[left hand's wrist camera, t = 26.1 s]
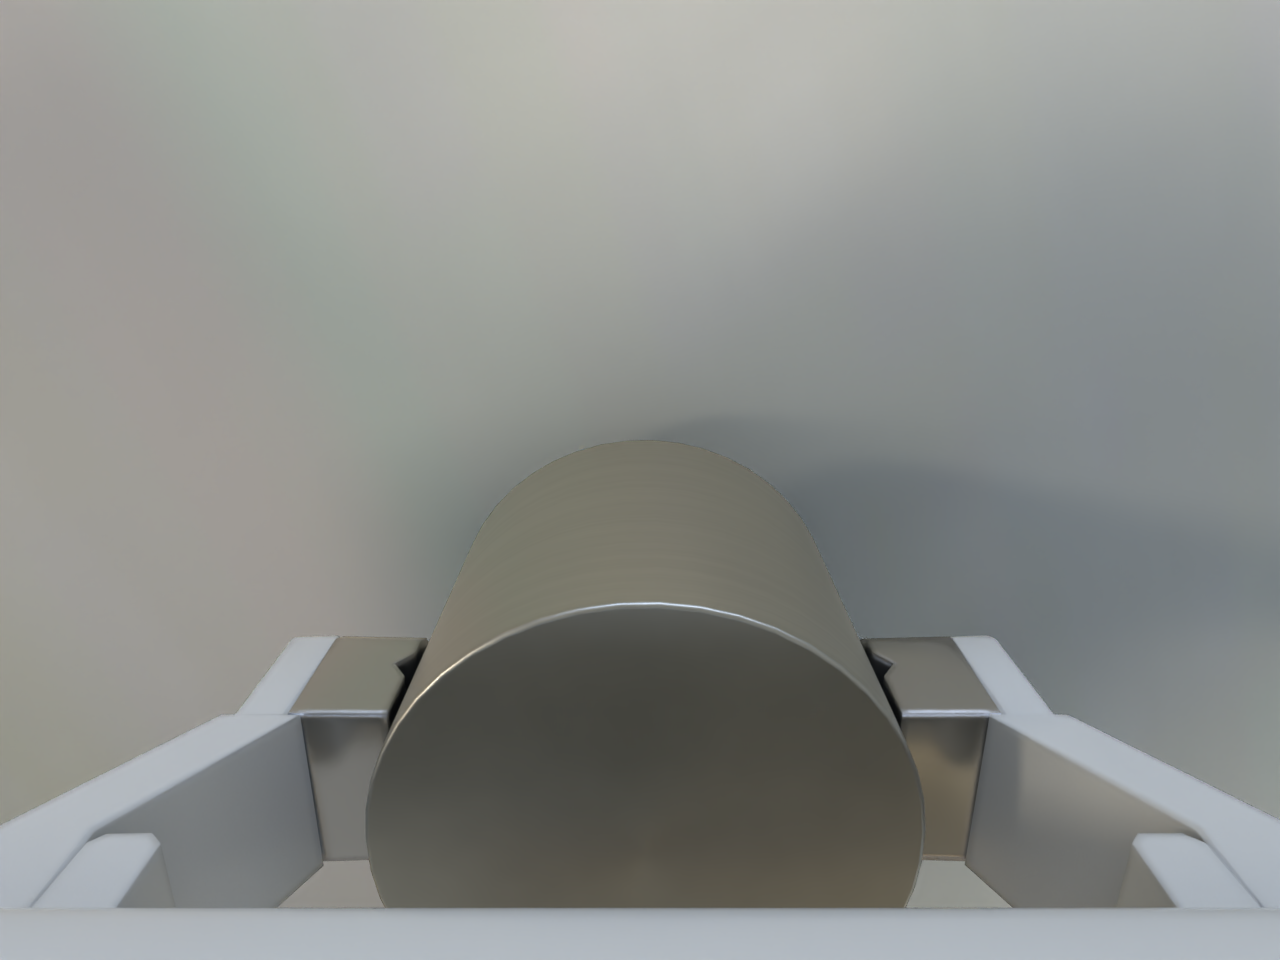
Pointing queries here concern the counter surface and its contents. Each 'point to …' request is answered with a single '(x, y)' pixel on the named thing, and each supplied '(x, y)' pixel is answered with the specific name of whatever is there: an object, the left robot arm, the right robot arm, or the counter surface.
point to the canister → (644, 709)
